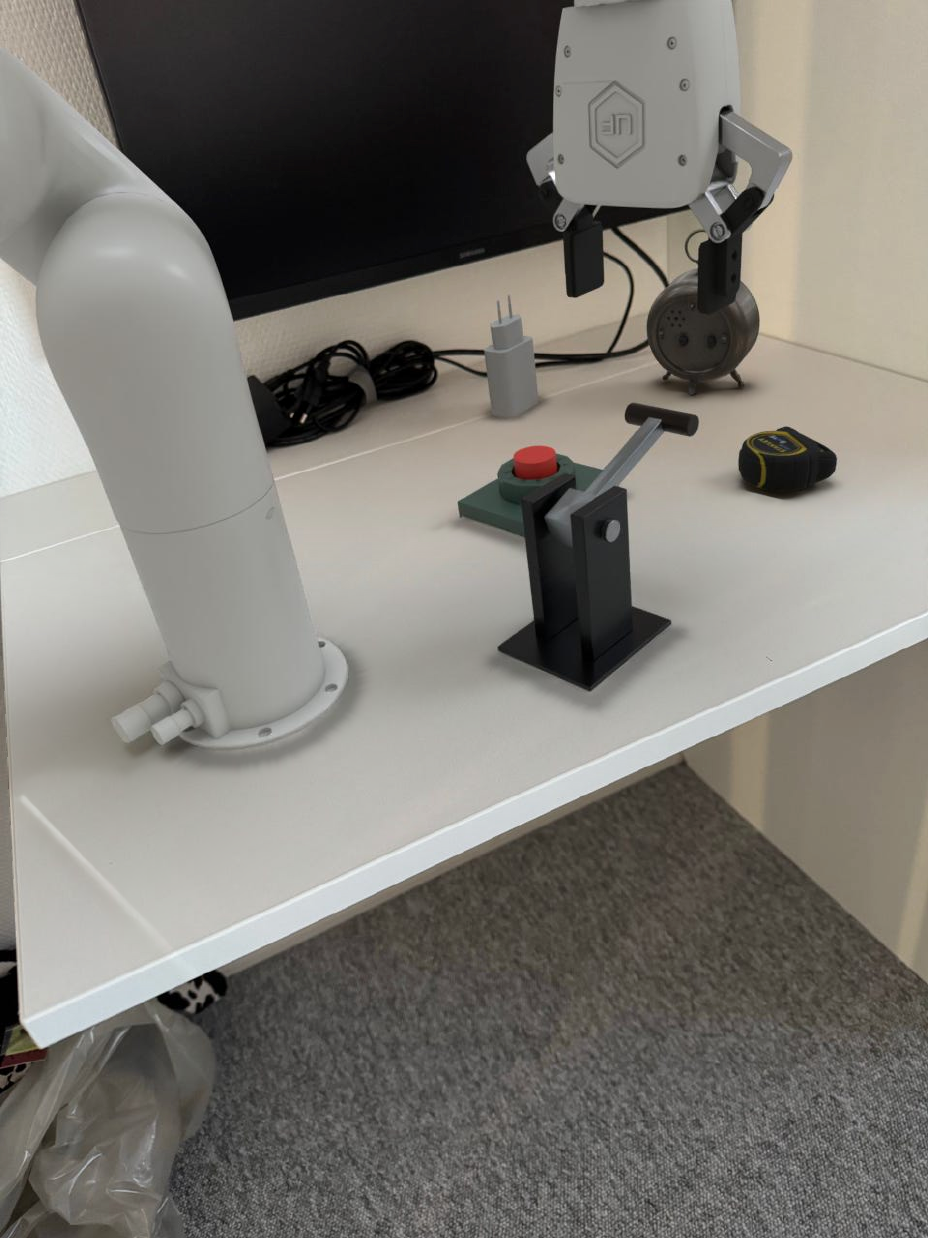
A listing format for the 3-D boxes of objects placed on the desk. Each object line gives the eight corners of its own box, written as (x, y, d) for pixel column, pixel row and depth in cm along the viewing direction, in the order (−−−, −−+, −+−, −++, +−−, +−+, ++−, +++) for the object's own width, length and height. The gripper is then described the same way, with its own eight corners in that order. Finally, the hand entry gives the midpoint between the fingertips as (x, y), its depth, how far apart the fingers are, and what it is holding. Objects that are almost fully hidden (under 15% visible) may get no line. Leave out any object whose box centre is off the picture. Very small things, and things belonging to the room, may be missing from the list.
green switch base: (538, 550, 77) (533, 506, 75) (460, 523, 83) (454, 482, 81) (619, 496, 83) (617, 454, 81) (541, 474, 89) (537, 435, 87)
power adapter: (489, 415, 103) (475, 303, 96) (519, 397, 106) (507, 288, 99) (511, 419, 101) (499, 306, 94) (541, 400, 104) (531, 290, 98)
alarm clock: (758, 382, 100) (765, 221, 91) (742, 401, 97) (746, 235, 88) (661, 375, 106) (658, 222, 97) (642, 393, 102) (637, 236, 93)
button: (538, 485, 79) (536, 466, 78) (506, 476, 81) (504, 457, 80) (565, 468, 81) (564, 450, 80) (534, 460, 83) (532, 442, 82)
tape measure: (839, 487, 79) (842, 445, 77) (766, 508, 78) (768, 466, 76) (791, 458, 85) (793, 419, 83) (722, 477, 83) (723, 437, 81)
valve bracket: (580, 600, 70) (568, 453, 64) (671, 634, 65) (669, 479, 59) (499, 660, 65) (477, 508, 59) (591, 702, 60) (578, 541, 54)
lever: (639, 419, 66) (632, 392, 64) (702, 432, 63) (695, 404, 61) (537, 537, 62) (526, 511, 60) (598, 558, 58) (589, 530, 57)
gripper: (476, -11, 52) (504, 301, 62) (758, -53, 42) (740, 335, 51) (562, -22, 57) (576, 272, 66) (839, -63, 46) (809, 297, 55)
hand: (647, 299), depth 58 cm, fingers open, 9 cm apart
